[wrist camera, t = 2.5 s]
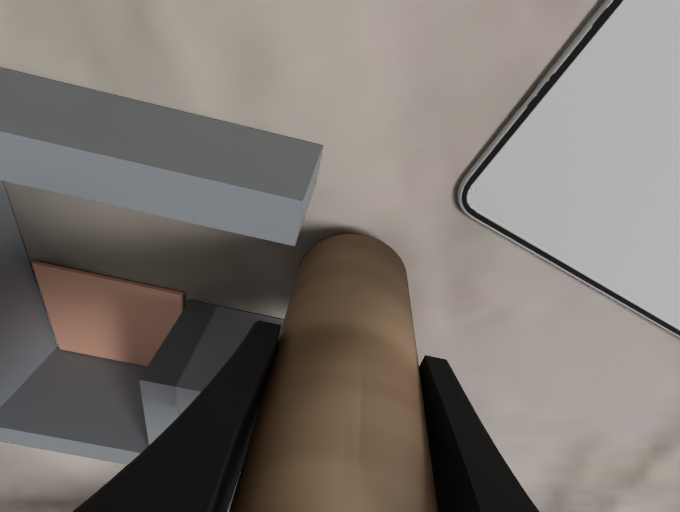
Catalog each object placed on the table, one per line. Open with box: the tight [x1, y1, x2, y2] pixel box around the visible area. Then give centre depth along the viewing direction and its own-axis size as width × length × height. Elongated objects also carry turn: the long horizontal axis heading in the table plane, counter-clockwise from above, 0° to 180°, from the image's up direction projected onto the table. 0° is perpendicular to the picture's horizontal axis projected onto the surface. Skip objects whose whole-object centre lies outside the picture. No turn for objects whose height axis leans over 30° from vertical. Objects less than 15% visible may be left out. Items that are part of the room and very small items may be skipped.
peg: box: [229, 234, 438, 512], centre depth 10 cm, size 4×4×9 cm
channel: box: [0, 68, 323, 465], centre depth 13 cm, size 14×12×4 cm
